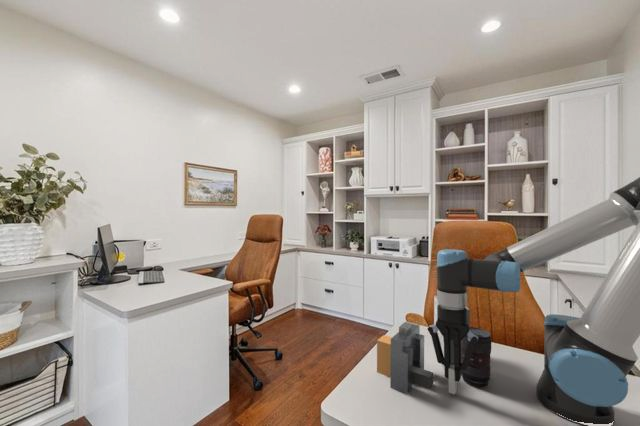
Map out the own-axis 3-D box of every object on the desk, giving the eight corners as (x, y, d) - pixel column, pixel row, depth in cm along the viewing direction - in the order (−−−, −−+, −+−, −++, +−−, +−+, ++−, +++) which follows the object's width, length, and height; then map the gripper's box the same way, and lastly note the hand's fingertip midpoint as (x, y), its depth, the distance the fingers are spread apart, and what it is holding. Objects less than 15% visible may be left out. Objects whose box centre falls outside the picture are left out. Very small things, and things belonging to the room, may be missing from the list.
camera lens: (495, 391, 79) (496, 338, 79) (464, 387, 81) (465, 335, 81) (485, 375, 87) (485, 327, 87) (457, 372, 89) (457, 324, 89)
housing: (424, 370, 90) (424, 320, 90) (407, 394, 78) (407, 336, 78) (408, 365, 93) (408, 316, 93) (390, 387, 81) (390, 332, 81)
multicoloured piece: (434, 383, 83) (434, 349, 83) (429, 391, 79) (429, 356, 79) (383, 365, 93) (383, 334, 93) (376, 372, 89) (377, 340, 89)
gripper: (480, 306, 77) (481, 393, 77) (431, 298, 85) (432, 376, 85) (476, 314, 71) (477, 408, 71) (423, 304, 79) (424, 389, 79)
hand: (452, 391), depth 78 cm, fingers closed
